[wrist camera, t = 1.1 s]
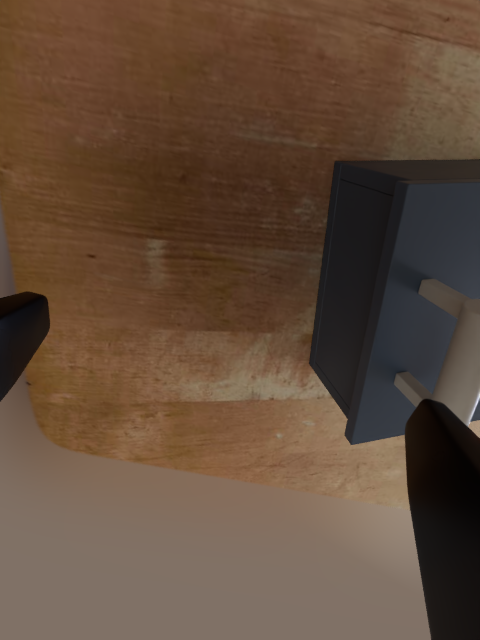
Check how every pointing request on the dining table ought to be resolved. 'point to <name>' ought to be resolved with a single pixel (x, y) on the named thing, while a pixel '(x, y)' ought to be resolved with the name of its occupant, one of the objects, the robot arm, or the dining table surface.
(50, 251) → the dining table surface
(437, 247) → the lid
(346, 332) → the box
